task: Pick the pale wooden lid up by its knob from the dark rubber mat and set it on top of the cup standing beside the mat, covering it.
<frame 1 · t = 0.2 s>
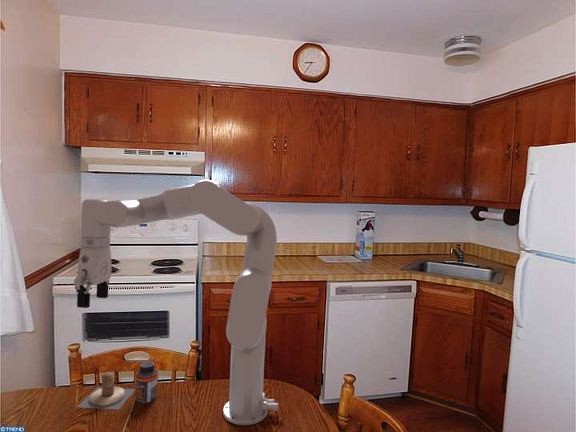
hand: (93, 302, 105), 30 cm above the table, tool pointing down, fingers open, 9 cm apart
mat: (107, 400, 108), on the table
supplement bottle: (145, 401, 108), on the table
lid: (107, 397, 108), point 1 cm above the table, touching mat
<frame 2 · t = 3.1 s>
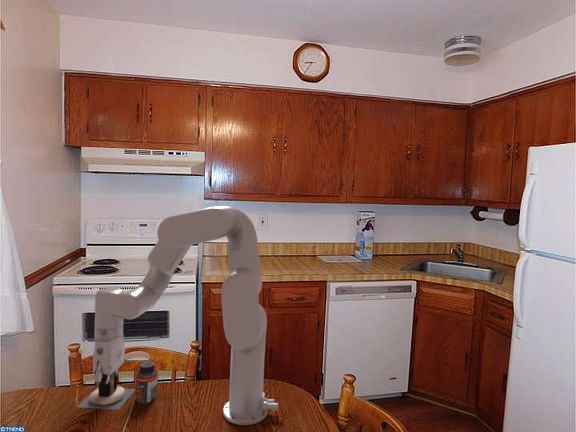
hand: (107, 392, 107), 3 cm above the table, tool pointing down, fingers closed on lid, 3 cm apart
lid: (107, 396, 108), point 1 cm above the table, touching gripper
everything else where it was.
when the fingers open (14 cm above the table, at t = 7.1 s): lid drops 2 cm, resting on supplement bottle.
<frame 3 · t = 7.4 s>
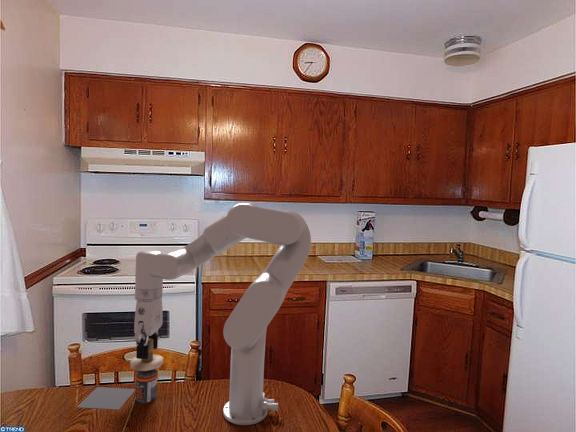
hand: (147, 352, 108), 15 cm above the table, tool pointing down, fingers open, 6 cm apart
supplement bottle: (145, 401, 108), on the table, touching lid
lid: (147, 363, 108), point 11 cm above the table, touching supplement bottle
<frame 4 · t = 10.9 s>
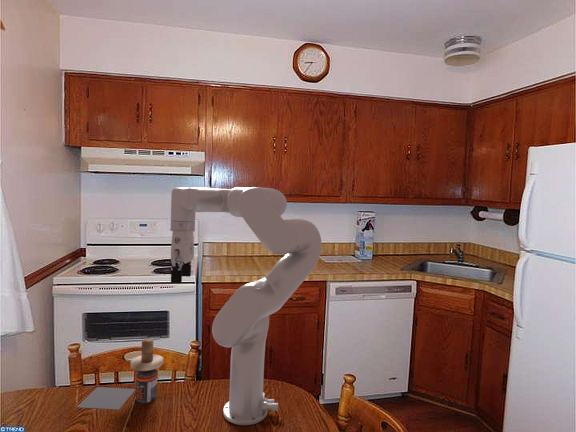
hand: (181, 279, 118), 34 cm above the table, tool pointing down, fingers open, 9 cm apart
nothing on the table moved.
at the end: lid 0.1 cm from the supplement bottle (horizontally); lid point 11.3 cm above the table; lid tilted 0° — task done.
